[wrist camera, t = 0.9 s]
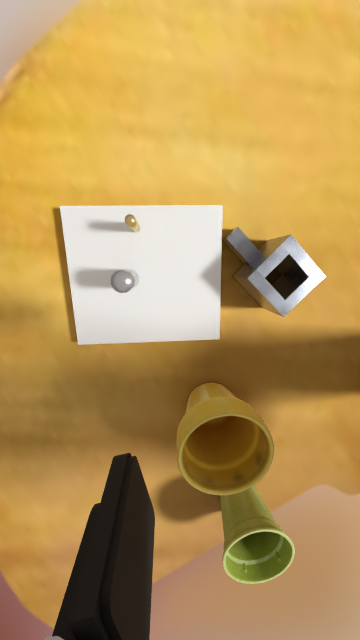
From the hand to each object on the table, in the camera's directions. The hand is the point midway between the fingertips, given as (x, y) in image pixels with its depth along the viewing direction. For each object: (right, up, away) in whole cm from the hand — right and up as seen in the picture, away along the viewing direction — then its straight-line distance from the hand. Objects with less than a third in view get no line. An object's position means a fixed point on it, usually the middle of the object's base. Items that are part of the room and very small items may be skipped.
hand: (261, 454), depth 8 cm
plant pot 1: (+1, -7, +25) cm, 26 cm away
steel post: (-9, +10, +18) cm, 23 cm away
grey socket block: (+6, +12, +20) cm, 24 cm away
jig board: (-7, +10, +20) cm, 23 cm away
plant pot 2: (+6, -23, +29) cm, 38 cm away
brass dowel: (-8, +16, +17) cm, 25 cm away
